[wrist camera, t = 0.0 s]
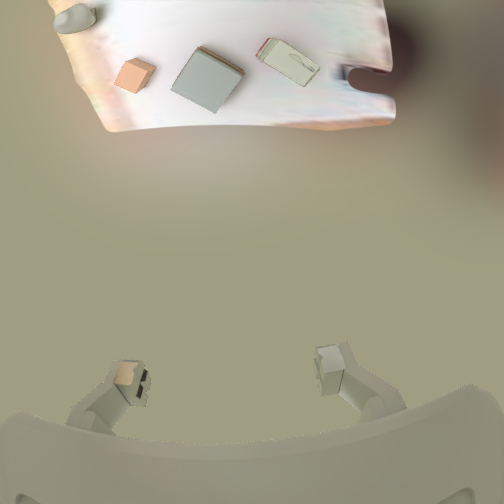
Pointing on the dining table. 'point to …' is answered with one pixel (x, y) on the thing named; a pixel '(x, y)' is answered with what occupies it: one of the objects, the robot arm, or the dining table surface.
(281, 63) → the ink box
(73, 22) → the figurine
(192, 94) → the slate block
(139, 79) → the terracotta block
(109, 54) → the dining table surface
